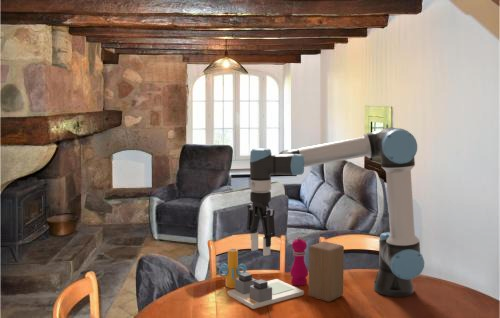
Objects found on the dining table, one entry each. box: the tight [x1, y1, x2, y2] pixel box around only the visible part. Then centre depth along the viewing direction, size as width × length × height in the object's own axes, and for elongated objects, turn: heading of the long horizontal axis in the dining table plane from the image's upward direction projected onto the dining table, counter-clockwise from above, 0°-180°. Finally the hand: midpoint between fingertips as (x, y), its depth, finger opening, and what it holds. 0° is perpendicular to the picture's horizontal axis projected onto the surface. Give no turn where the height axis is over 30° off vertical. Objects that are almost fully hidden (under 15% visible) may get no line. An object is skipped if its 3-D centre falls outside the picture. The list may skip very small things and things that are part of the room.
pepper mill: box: [289, 235, 309, 286], centre depth 210 cm, size 7×7×20 cm
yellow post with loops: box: [218, 248, 248, 289], centre depth 207 cm, size 12×10×15 cm
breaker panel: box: [227, 277, 305, 310], centre depth 198 cm, size 17×24×6 cm
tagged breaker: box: [254, 278, 268, 290], centre depth 190 cm, size 4×4×4 cm
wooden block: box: [308, 241, 345, 303], centre depth 195 cm, size 10×10×20 cm
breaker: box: [239, 271, 253, 282], centre depth 198 cm, size 4×4×4 cm
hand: (260, 252), depth 189 cm, fingers open, 7 cm apart
